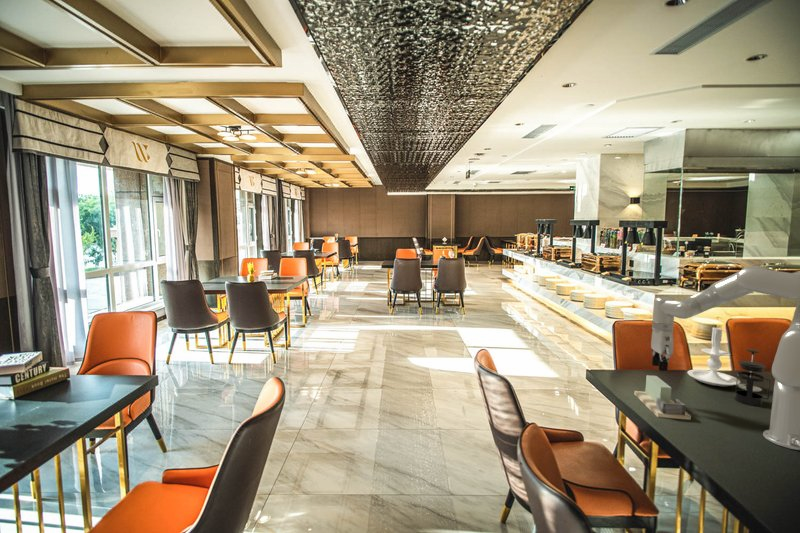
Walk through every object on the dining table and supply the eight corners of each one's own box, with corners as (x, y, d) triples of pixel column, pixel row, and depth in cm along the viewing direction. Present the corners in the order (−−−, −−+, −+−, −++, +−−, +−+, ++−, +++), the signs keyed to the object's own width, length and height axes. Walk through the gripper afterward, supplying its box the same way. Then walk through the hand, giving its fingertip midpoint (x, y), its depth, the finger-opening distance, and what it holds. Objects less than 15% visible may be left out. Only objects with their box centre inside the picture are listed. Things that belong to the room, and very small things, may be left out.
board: (690, 419, 160) (691, 406, 160) (657, 417, 162) (658, 403, 162) (663, 396, 183) (664, 384, 183) (634, 394, 185) (635, 382, 185)
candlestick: (735, 378, 207) (740, 324, 204) (742, 394, 186) (748, 334, 184) (686, 370, 218) (690, 318, 216) (687, 384, 198) (692, 327, 195)
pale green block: (670, 406, 169) (671, 387, 168) (659, 405, 169) (660, 387, 169) (654, 393, 183) (656, 375, 182) (645, 392, 183) (646, 375, 182)
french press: (732, 401, 178) (737, 350, 176) (732, 395, 186) (736, 345, 184) (768, 409, 171) (773, 355, 169) (766, 402, 178) (772, 350, 176)
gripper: (682, 331, 164) (679, 375, 166) (662, 322, 181) (659, 362, 183) (662, 330, 165) (659, 374, 167) (644, 321, 182) (641, 361, 184)
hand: (659, 367), depth 175 cm, fingers open, 5 cm apart
